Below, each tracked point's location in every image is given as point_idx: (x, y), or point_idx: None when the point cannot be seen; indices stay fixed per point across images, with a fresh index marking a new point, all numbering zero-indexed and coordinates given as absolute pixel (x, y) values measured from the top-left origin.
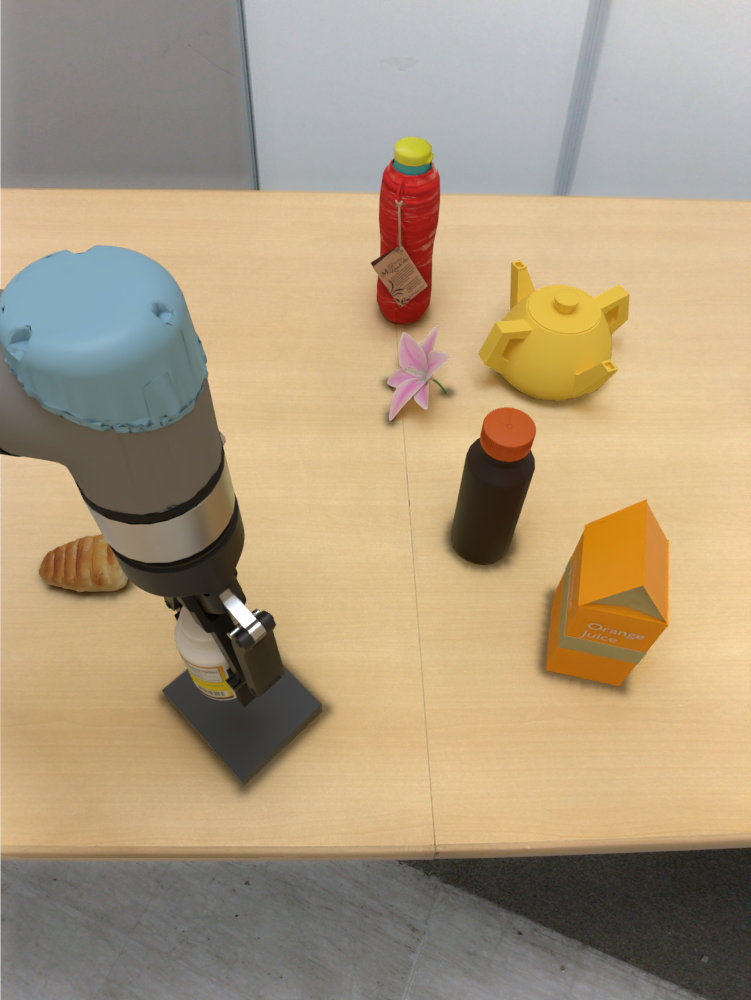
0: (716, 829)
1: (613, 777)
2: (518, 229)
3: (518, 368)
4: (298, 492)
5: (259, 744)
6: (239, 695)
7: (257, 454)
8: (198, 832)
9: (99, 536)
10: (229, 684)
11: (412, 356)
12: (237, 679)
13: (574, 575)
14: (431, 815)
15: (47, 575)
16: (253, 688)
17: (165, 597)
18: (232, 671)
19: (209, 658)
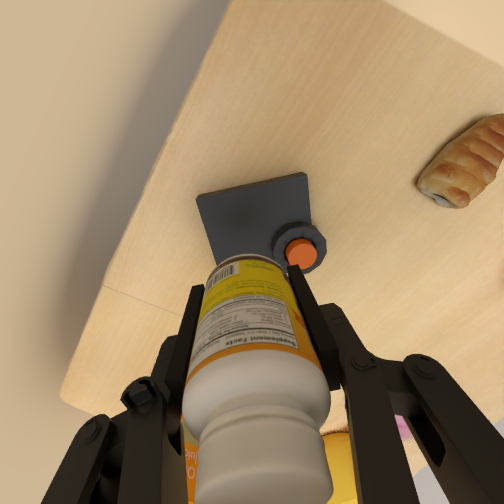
0: (62, 392)
1: (105, 372)
2: (414, 469)
3: (342, 456)
4: (375, 324)
5: (215, 225)
6: (185, 313)
7: (423, 316)
8: (179, 143)
9: (482, 190)
10: (139, 391)
11: (398, 427)
12: (139, 407)
13: (188, 464)
14: (121, 292)
15: (495, 121)
16: (69, 467)
17: (381, 397)
18: (160, 404)
19: (195, 406)
